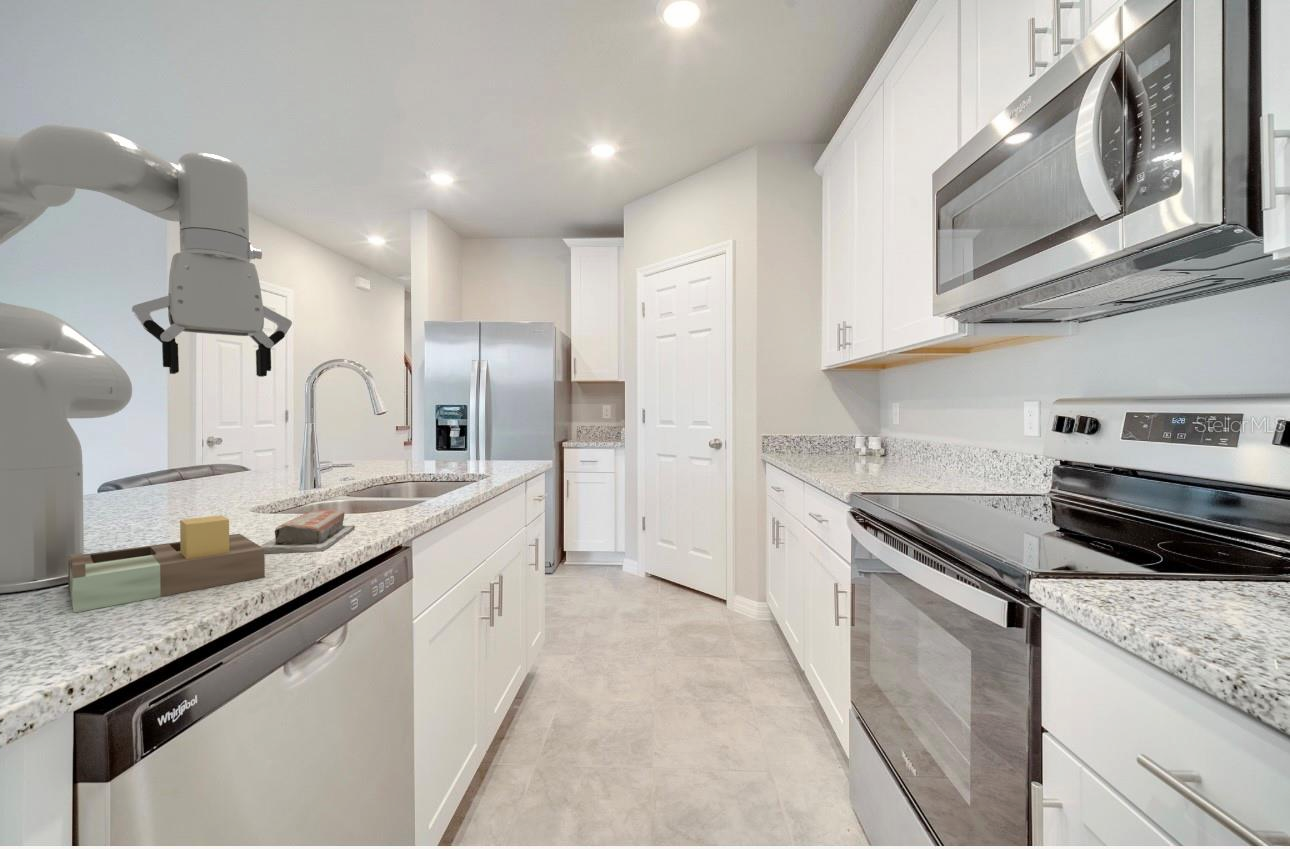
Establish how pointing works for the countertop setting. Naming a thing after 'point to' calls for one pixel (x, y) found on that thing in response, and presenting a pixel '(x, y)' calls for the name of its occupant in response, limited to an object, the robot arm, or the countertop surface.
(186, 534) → the ochre block
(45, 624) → the countertop surface
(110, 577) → the box
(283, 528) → the packaged product
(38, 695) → the countertop surface
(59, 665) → the countertop surface
